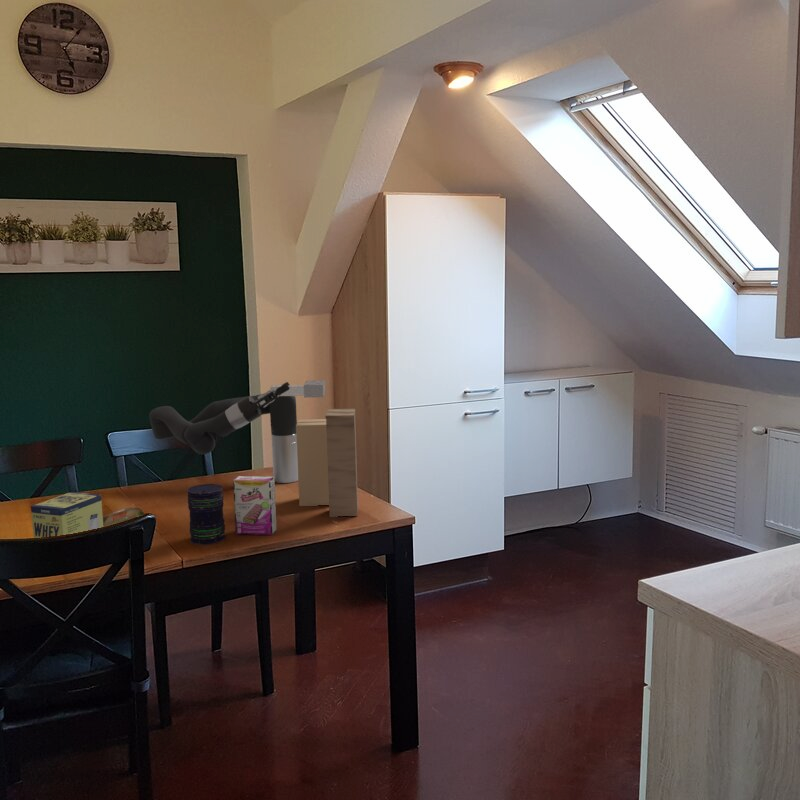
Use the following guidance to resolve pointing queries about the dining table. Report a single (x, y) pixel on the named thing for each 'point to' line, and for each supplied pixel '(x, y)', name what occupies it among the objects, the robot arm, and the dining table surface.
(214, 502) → the storage jar
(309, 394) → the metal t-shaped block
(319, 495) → the cardboard box
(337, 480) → the tall wooden plank
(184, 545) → the dining table surface
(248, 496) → the candy bar box
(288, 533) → the dining table surface
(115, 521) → the tin
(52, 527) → the protein box
